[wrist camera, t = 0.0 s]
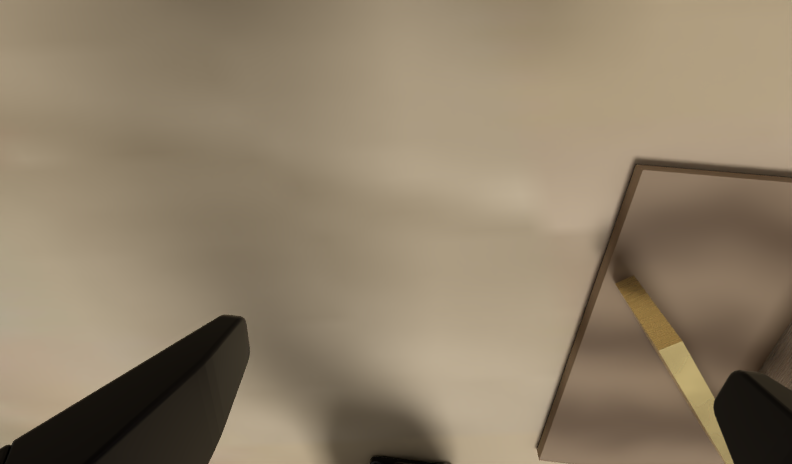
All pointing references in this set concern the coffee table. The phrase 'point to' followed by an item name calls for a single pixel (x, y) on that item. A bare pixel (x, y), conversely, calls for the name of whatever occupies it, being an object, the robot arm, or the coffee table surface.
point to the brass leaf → (675, 361)
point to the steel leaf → (780, 360)
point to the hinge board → (674, 314)
